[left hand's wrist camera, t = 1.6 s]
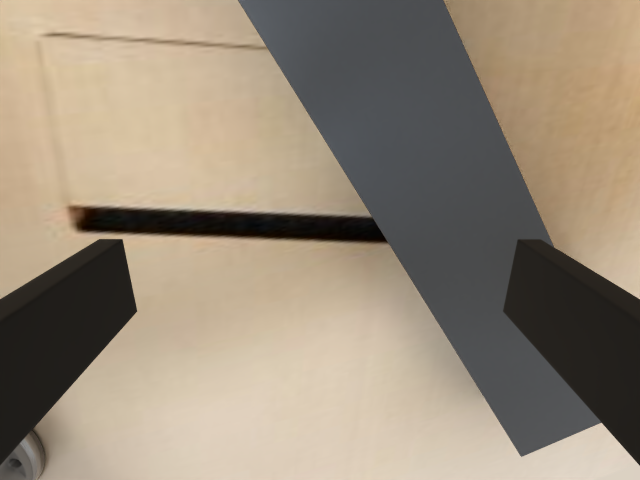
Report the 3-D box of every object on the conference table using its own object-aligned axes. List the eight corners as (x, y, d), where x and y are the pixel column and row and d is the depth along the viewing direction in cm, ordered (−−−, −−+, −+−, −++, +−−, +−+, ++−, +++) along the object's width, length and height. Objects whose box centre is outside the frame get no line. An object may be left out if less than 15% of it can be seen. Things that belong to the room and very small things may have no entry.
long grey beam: (572, 357, 38) (628, 411, 31) (486, 397, 40) (521, 457, 33) (135, -544, 18) (31, -922, 12) (3, -384, 20) (-154, -631, 13)
